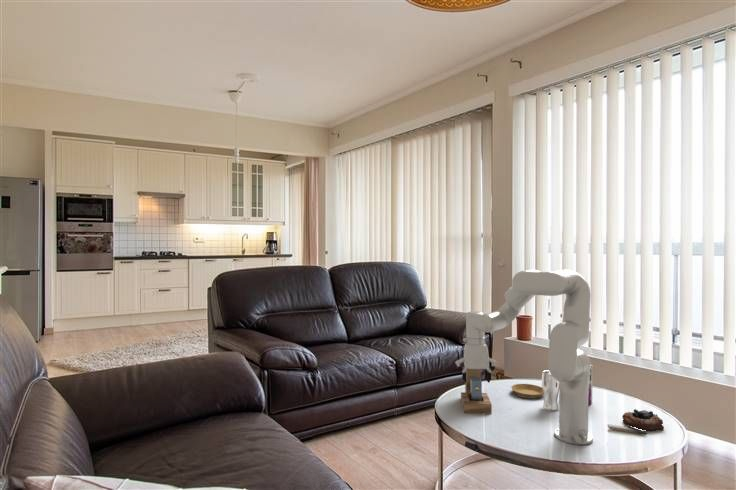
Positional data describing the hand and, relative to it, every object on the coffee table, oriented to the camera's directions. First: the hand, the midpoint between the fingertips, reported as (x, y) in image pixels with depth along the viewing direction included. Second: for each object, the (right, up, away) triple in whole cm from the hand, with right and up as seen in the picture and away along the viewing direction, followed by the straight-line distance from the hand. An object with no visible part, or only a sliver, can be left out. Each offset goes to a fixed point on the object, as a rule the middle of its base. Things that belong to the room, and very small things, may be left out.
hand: (476, 381), depth 195 cm
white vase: (+31, -11, -1) cm, 33 cm away
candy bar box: (+45, -11, +6) cm, 47 cm away
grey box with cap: (0, -11, +1) cm, 11 cm away
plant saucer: (+27, -11, +16) cm, 33 cm away
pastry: (+58, -11, -19) cm, 63 cm away
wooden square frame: (0, -11, +3) cm, 11 cm away
